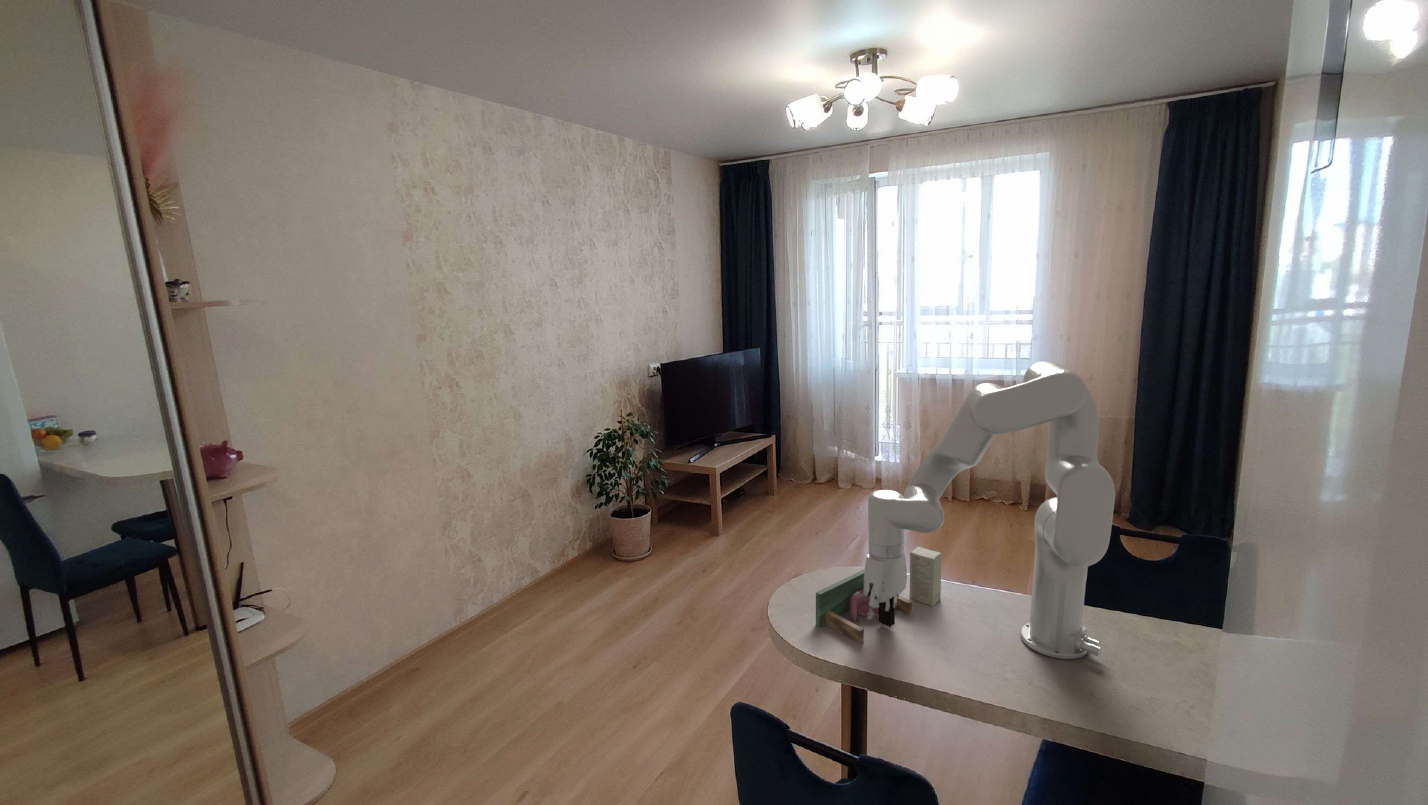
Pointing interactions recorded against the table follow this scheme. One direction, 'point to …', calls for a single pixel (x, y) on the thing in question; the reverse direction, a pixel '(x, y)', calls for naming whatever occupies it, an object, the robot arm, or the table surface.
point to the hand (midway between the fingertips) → (886, 623)
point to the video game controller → (860, 605)
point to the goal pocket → (846, 606)
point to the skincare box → (925, 575)
